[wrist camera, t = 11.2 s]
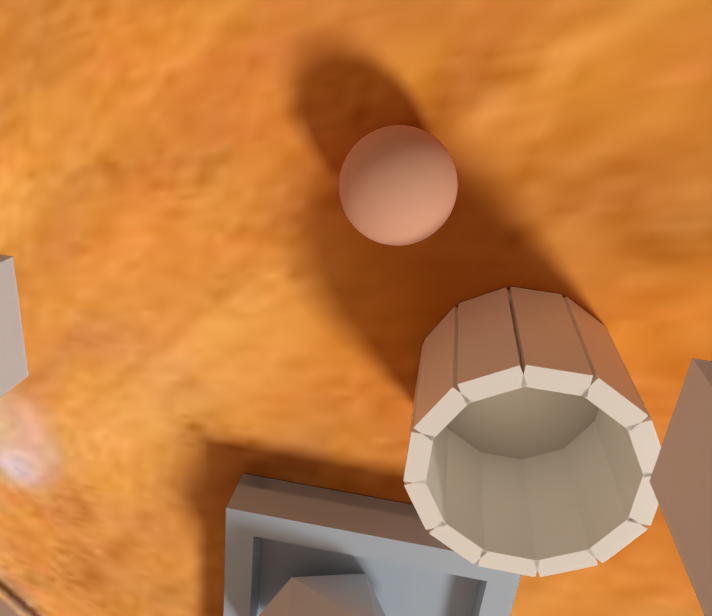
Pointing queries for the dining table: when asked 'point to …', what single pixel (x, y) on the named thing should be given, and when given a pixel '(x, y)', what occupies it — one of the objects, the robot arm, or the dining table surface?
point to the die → (325, 597)
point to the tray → (349, 552)
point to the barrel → (529, 436)
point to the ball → (398, 185)
